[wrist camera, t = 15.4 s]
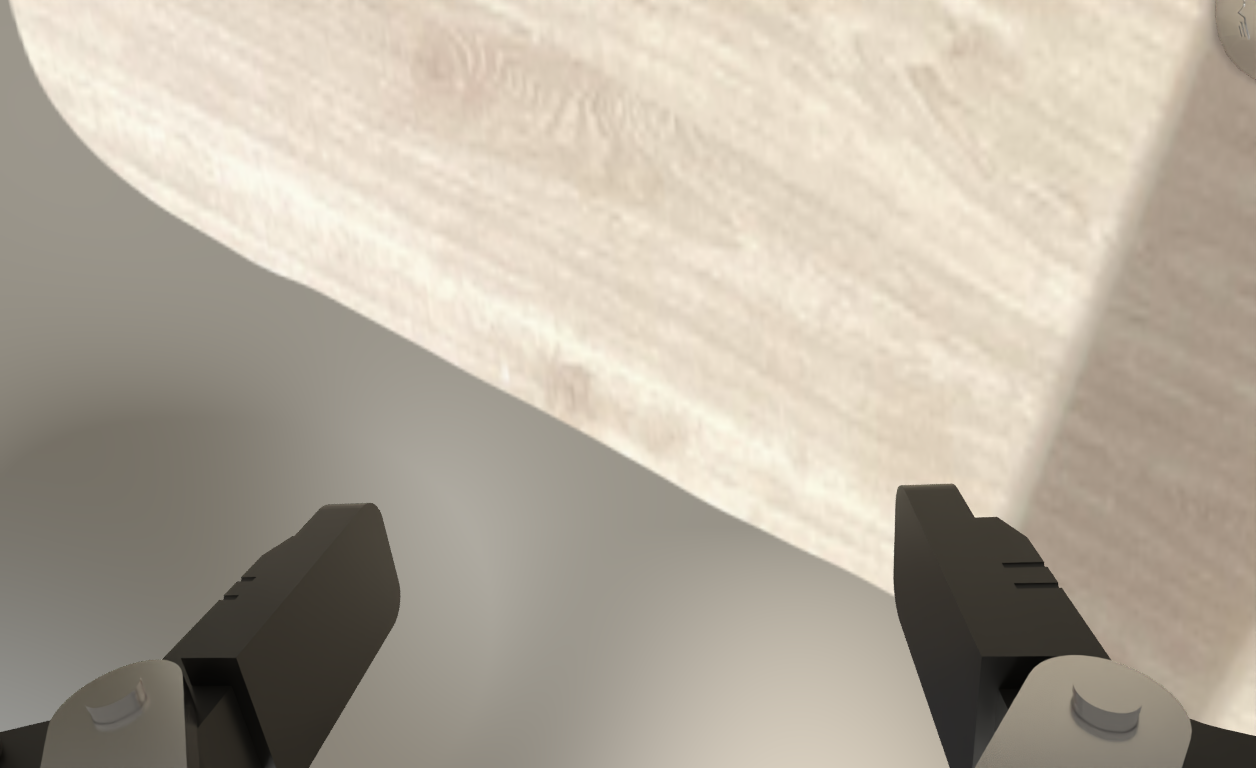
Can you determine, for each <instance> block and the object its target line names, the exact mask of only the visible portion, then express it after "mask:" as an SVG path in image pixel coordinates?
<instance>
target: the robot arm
mask: <svg viewBox="0 0 1256 768" xmlns="http://www.w3.org/2000/svg"><path fill="white" fill-rule="evenodd" d="M1215 18H1216V24H1217V29H1218V35H1219V38H1220V41H1221V43H1222V45H1223V47H1224V49H1225V52H1226V54H1227V55H1228V56H1229V58H1230V59H1231V60H1232V61H1233V62H1234V64H1235V65H1236V66H1237V67H1238V68H1239V69H1240V70H1241V71H1243V72H1244V73H1246V74H1247V75H1249V76H1250V77H1252V78H1253V79H1255V80H1256V0H1216V12H1215ZM241 578H242V580H241V582H236V583H235V584H234V585H233V587H232V588H230V590H229V591H228V592H227V593H226V594H225V595H224V599H223V600H219V601H218V602H217V603H216V604H215V605H214V606H213V607H212V608H211V609H210V610H209V611H208V612H207V613H206V614H205V615H204V617H203V618H202V619H201V620H200V621H199V622H198V623H197V624H196V625H195V626H194V627H193V628H192V629H191V630H190V631H189V632H188V633H187V634H186V635H185V636H184V637H183V639H181V640H180V642H178V643H177V645H176V646H175V647H174V648H173V649H172V650H171V651H170V652H169V653H168V654H167V655H166V656H165V657H164V658H163V659H162V660H147V661H141V662H137V663H133V664H129V665H126V666H123V667H120V668H118V669H115V670H113V671H111V672H108V673H106V674H104V675H102V676H101V677H98V678H97V679H95V680H93V681H92V682H90V683H88V684H87V685H85V686H84V687H82V688H81V689H79V690H78V691H77V692H76V693H74V694H73V695H72V696H71V697H69V698H68V699H67V700H66V701H65V702H64V703H63V704H62V705H61V706H60V707H59V709H58V710H57V711H56V712H55V714H54V715H53V717H52V719H51V720H50V721H46V722H42V723H37V724H33V725H29V726H25V727H20V728H17V729H12V730H8V731H4V732H0V768H309V767H310V765H311V763H312V761H313V760H314V758H315V756H316V755H317V753H318V751H319V749H320V748H321V746H322V745H323V743H324V741H325V740H326V738H327V736H328V735H329V733H330V731H331V730H332V728H333V726H334V725H335V723H336V721H337V720H338V718H339V716H340V715H341V713H342V711H343V709H344V708H345V706H346V704H347V703H348V701H349V699H350V698H351V696H352V694H353V693H354V691H355V689H356V688H357V686H358V684H359V683H360V681H361V679H362V678H363V676H364V674H365V673H366V671H367V669H368V667H369V666H370V664H371V662H372V661H373V659H374V658H375V656H376V654H377V653H378V651H379V649H380V647H381V646H382V644H383V642H384V640H385V639H386V637H387V636H388V634H389V632H390V631H391V629H392V627H393V626H394V623H395V621H396V618H397V616H398V611H399V605H400V586H399V581H398V578H397V573H396V570H395V565H394V561H393V558H392V553H391V550H390V546H389V542H388V538H387V534H386V530H385V526H384V522H383V518H382V515H381V512H380V510H379V509H378V507H377V506H376V505H374V504H373V503H356V504H328V505H325V506H323V507H322V508H320V509H319V511H317V512H316V514H315V515H314V516H313V517H312V518H311V519H310V520H309V521H308V522H307V523H306V524H305V525H304V526H303V528H302V529H301V530H300V531H299V532H298V533H297V534H296V535H295V536H292V537H291V538H289V539H287V540H286V541H284V542H283V543H281V544H280V545H278V546H276V547H275V548H273V549H272V550H270V551H269V552H267V553H265V554H264V555H262V556H261V557H260V558H259V560H257V562H256V563H255V564H254V565H253V566H252V567H251V568H250V569H249V570H248V571H247V572H246V573H245V574H244V575H243V576H242V577H241ZM894 593H895V602H896V608H897V613H898V616H899V620H900V623H901V626H902V629H903V632H904V635H905V638H906V641H907V644H908V647H909V650H910V653H911V656H912V658H913V661H914V664H915V667H916V670H917V673H918V676H919V679H920V682H921V685H922V688H923V691H924V694H925V697H926V699H927V702H928V705H929V708H930V711H931V714H932V717H933V720H934V723H935V726H936V729H937V732H938V735H939V738H940V741H941V744H942V746H943V749H944V752H945V755H946V758H947V761H948V764H949V767H950V768H1256V736H1253V735H1248V734H1244V733H1239V732H1235V731H1230V730H1226V729H1222V728H1218V727H1214V726H1210V725H1207V724H1203V723H1200V722H1198V721H1195V720H1192V719H1189V717H1188V715H1187V712H1186V711H1185V709H1184V708H1183V706H1182V705H1181V703H1180V702H1179V701H1178V700H1177V699H1176V698H1175V697H1174V696H1173V695H1172V693H1171V692H1169V691H1168V690H1167V689H1166V688H1164V687H1163V686H1162V685H1161V684H1159V683H1158V682H1156V681H1155V680H1153V679H1152V678H1150V677H1149V676H1147V675H1145V674H1143V673H1141V672H1139V671H1137V670H1135V669H1133V668H1131V667H1128V666H1126V665H1124V664H1121V663H1117V662H1114V661H1112V660H1111V659H1110V658H1109V656H1108V655H1107V653H1106V652H1105V650H1104V649H1103V647H1102V646H1101V644H1100V643H1099V642H1098V640H1097V639H1096V637H1095V636H1094V634H1093V633H1092V631H1091V630H1090V628H1089V627H1088V625H1087V624H1086V623H1085V621H1084V620H1083V618H1082V617H1081V615H1080V614H1079V612H1078V611H1077V609H1076V608H1075V607H1074V605H1073V604H1072V602H1071V601H1070V599H1069V598H1068V596H1067V595H1066V593H1065V592H1064V590H1063V589H1062V588H1059V587H1058V582H1057V580H1056V579H1055V577H1054V576H1053V574H1052V573H1051V571H1050V570H1049V569H1048V567H1045V566H1044V561H1043V560H1042V558H1041V557H1040V555H1039V554H1038V553H1037V551H1036V550H1035V548H1034V547H1033V545H1032V544H1031V542H1030V541H1029V539H1028V538H1027V537H1026V536H1024V535H1023V534H1021V533H1020V532H1018V531H1017V530H1015V529H1014V528H1012V527H1011V526H1010V525H1008V524H1007V523H1005V522H1004V521H1002V520H1001V519H999V518H998V517H982V518H975V517H974V516H973V514H972V512H971V511H970V509H969V507H968V506H967V504H966V502H965V500H964V499H963V497H962V495H961V494H960V492H959V490H958V489H957V487H956V486H955V485H954V484H930V485H901V486H899V487H898V489H897V494H896V508H895V542H894Z"/></svg>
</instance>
